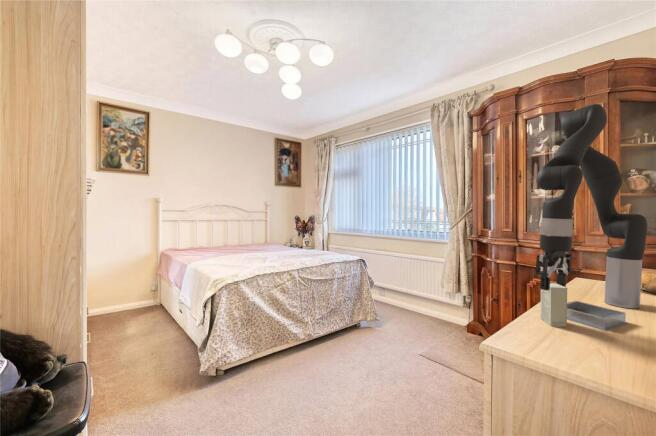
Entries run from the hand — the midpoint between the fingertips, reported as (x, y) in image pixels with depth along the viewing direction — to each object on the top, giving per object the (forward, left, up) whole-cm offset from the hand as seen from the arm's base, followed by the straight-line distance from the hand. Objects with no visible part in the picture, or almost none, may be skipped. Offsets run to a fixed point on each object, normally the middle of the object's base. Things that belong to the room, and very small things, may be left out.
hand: (552, 288), depth 88 cm
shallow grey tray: (-14, +3, -10) cm, 18 cm away
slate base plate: (-14, +3, -11) cm, 18 cm away
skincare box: (0, 0, -11) cm, 11 cm away
